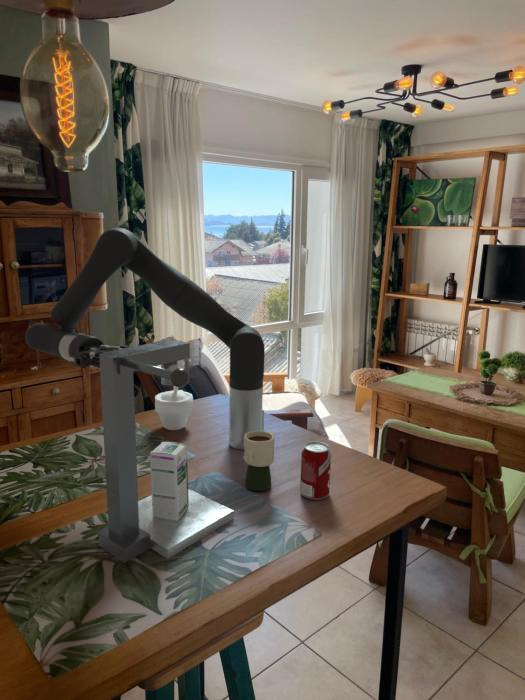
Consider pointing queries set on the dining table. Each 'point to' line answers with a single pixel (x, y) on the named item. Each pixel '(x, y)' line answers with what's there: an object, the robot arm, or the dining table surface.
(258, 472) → the character mug
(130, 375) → the bench press
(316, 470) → the soda can
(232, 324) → the robot arm
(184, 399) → the mortar and pestle
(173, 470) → the syrup box
